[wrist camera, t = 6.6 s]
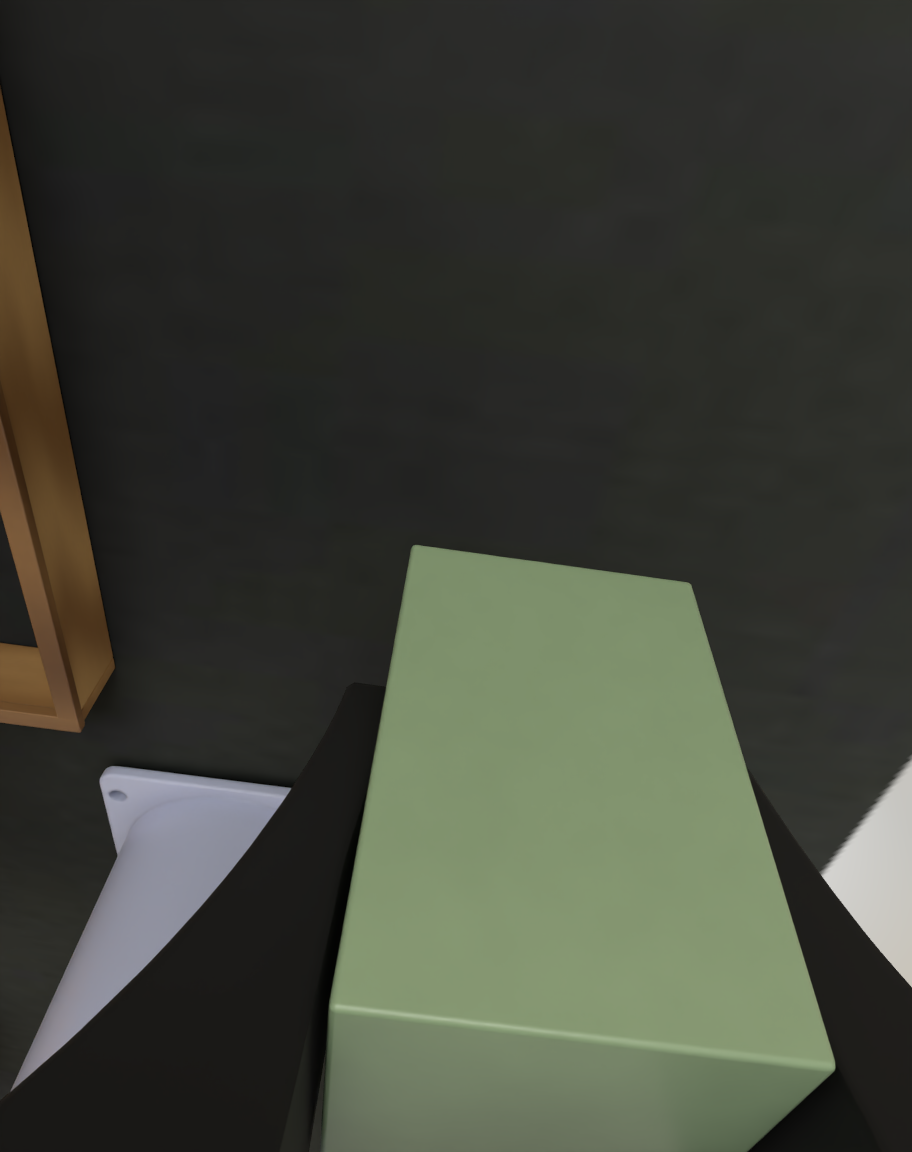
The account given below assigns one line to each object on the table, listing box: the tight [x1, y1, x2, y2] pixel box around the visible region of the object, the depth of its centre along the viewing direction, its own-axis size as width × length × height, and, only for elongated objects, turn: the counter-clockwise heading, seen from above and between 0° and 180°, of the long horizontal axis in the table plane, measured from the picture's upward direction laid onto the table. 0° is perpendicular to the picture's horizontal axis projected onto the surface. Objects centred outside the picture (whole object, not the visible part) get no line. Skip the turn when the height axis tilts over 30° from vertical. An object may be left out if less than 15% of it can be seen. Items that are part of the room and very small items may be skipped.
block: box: [320, 545, 835, 1152], centre depth 11 cm, size 4×4×7 cm
